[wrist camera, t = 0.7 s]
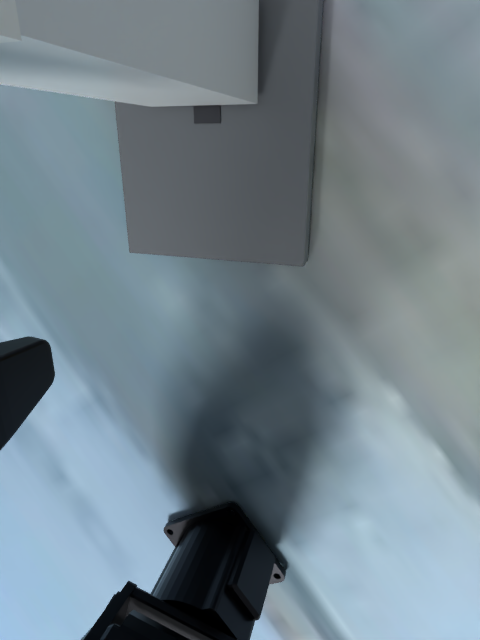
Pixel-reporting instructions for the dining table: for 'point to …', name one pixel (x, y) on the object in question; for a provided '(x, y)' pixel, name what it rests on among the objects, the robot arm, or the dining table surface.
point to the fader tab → (133, 49)
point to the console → (231, 157)
